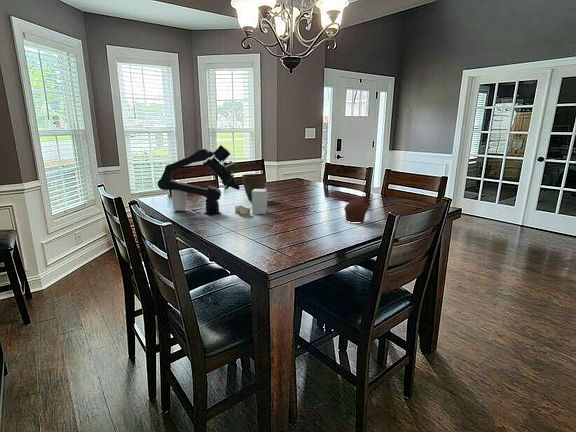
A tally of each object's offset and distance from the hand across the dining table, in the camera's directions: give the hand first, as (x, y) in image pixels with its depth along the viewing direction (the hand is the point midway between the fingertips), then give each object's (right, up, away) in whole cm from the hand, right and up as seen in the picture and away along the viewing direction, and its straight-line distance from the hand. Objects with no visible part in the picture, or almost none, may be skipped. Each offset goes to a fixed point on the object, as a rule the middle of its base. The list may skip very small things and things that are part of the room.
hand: (239, 188), depth 182 cm
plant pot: (+5, -5, +35) cm, 36 cm away
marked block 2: (+4, -15, -2) cm, 15 cm away
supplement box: (+11, -13, +5) cm, 18 cm away
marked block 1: (0, -14, +2) cm, 14 cm away
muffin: (+60, -18, -9) cm, 64 cm away
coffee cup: (-33, -12, +5) cm, 36 cm away
